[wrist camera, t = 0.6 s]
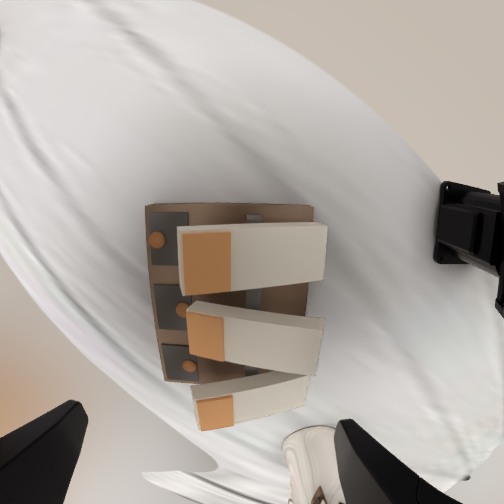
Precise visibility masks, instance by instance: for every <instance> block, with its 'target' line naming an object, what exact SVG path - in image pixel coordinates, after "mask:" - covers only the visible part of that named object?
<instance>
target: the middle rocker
mask: <svg viewBox="0 0 504 504" xmlns="http://www.w3.org/2000/svg"><path fill="white" fill-rule="evenodd" d="M186 312H187V313H186V320H187V331H188V341H189V351H190V354H193V355H196V356H200V357H204V358H209V359H213V360H217V361H222V362H223V361H228V362H232V363H237V364H242V365H247V366H252V367H258V368H263V369H269V370H275V371H281V372H287V373H294V374H301V375H309V376H315V375H316V370H317V365H318V359H319V353H320V347H321V341H322V335H323V328H324V319H322V318H313V317H304V316H296V315H288V314H280V313H273V312H265V311H258V310H251V309H245V308H238V307H232V306H226V305H220V304H214V303H208V302H202V301H195V302H194V303H193V304H192V305H191V306H189V307H188V308H187V309H186Z"/></svg>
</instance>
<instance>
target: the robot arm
mask: <svg viewBox="0 0 504 504" xmlns="http://www.w3.org/2000/svg"><path fill="white" fill-rule="evenodd" d="M447 186H448V189H447V188H446V187H447ZM498 192H499V193H500V195H494V194H491V193H490V191H487V190H483V189H479V188H475V187H471V186H467V185H463V184H459V183H454V182H449V181H444V182H443V183H442V185H441V199H440V212H439V222H438V231H437V239H436V246H435V253H434V261H435V262H436V263H438V264H471V265H473V266H476V267H478V268H480V269H482V270H484V271H486V272H488V273H490V274H492V275H494V276H496V277H498V278H499V285H498V293H497V298H496V301H495V308H496V309H497V310H498V312H499V313H500V314H501V316H502V317H503V318H504V182H501V183H498ZM439 256H440V259H439ZM87 425H88V416H87V414H86V412H85V410H84V408H83V406H82V404H81V403H80V402H78V401H75V400H68V401H67V402H65V403H63V404H61V405H59V406H58V407H56V408H54V409H52V410H51V411H49V412H47V413H45V414H44V415H42V416H40V417H38V418H36V419H34V420H33V421H31V422H29V423H27V424H25V425H23V426H22V427H20V428H18V429H16V430H14V431H12V432H10V433H9V434H7V435H5V436H4V437H1V438H0V504H63V502H64V499H65V496H66V493H67V490H68V487H69V484H70V481H71V478H72V475H73V472H74V469H75V466H76V463H77V461H78V458H79V455H80V452H81V448H82V444H83V440H84V436H85V432H86V428H87ZM334 446H335V453H336V460H337V468H338V475H339V480H340V484H341V487H342V491H343V495H344V498H345V502H346V504H462V503H460V502H458V501H456V500H455V499H453V498H451V497H449V496H447V495H446V494H444V493H442V492H441V491H439V490H437V489H436V488H435V487H433V486H432V485H430V484H429V483H428V482H426V481H425V480H424V479H423V478H421V477H420V478H419V475H417V474H416V473H415V472H414V471H412V470H411V469H410V468H409V467H407V466H406V465H405V464H404V463H403V462H401V461H400V460H399V459H398V458H396V457H395V456H394V455H393V454H392V453H390V452H389V451H388V450H387V449H386V448H385V447H383V446H382V445H381V444H380V443H379V442H378V441H376V440H375V439H374V438H373V437H372V436H371V435H370V434H368V433H367V432H366V431H365V430H364V429H363V428H362V427H360V426H359V425H358V424H357V423H356V422H355V421H354V420H352V419H344V420H340V421H339V422H338V424H337V427H336V430H335V433H334Z"/></svg>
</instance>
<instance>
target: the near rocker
mask: <svg viewBox="0 0 504 504" xmlns="http://www.w3.org/2000/svg"><path fill="white" fill-rule="evenodd" d="M327 231H328V226H327V225H324V224H320V223H317V222H286V223H250V224H222V225H199V226H179V227H177V243H178V264H179V281H180V288H181V292H182V296H188V295H199V294H210V293H220V292H230V291H238V290H248V289H256V288H265V287H273V286H282V285H290V284H298V283H305V282H313V281H320V280H323V277H324V267H325V256H326V244H327Z"/></svg>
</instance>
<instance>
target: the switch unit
mask: <svg viewBox="0 0 504 504" xmlns="http://www.w3.org/2000/svg"><path fill="white" fill-rule="evenodd" d="M313 210H314V207H311V206H309V205H289V204H251V203H174V204H151V205H147V206H145V221H146V240H147V255H148V268H149V278H150V288H151V297H152V305H153V313H154V321H155V328H156V334H157V341H158V347H159V353H160V358H161V364H162V369H163V374H164V379H165V381H170V382H181V383H193V384H207V383H213V382H220V381H226V380H232V379H237V378H242V377H248V376H253V375H258V374H262V373H267V372H272V371H275V370H269V369H263V368H258V367H252V366H247V365H242V364H237V363H232V362H228V361H223V362H222V361H217V360H213V359H209V358H204V357H200V356H196V355H193V354H190V351H189V341H188V331H187V320H186V313H187V312H186V309H187V308H188V307H189V306H191V305H192V304H193V303H194V302H195V301H202V302H208V303H214V304H220V305H226V306H232V307H238V308H245V309H251V310H258V311H265V312H273V313H280V314H288V315H296V316H304V317H305V312H306V303H307V292H308V282H305V283H298V284H290V285H282V286H273V287H265V288H256V289H248V290H238V291H230V292H220V293H210V294H199V295H188V296H182V292H181V288H180V281H179V264H178V243H177V227H179V226H199V225H222V224H250V223H286V222H313Z"/></svg>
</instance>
